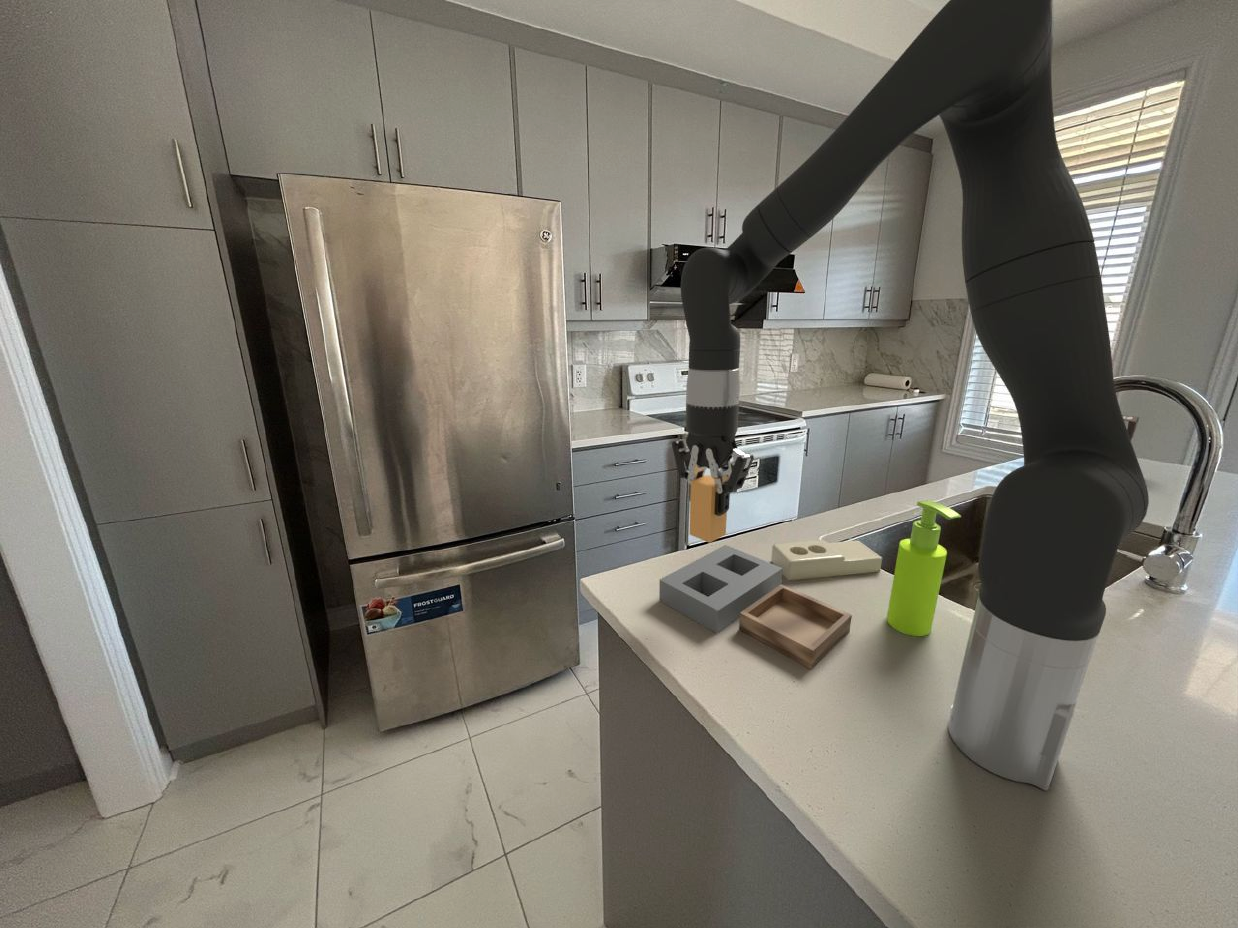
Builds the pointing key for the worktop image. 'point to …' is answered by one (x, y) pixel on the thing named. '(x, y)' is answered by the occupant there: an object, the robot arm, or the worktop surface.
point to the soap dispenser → (919, 573)
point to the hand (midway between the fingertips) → (708, 509)
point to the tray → (795, 624)
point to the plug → (705, 511)
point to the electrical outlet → (824, 559)
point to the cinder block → (719, 586)
